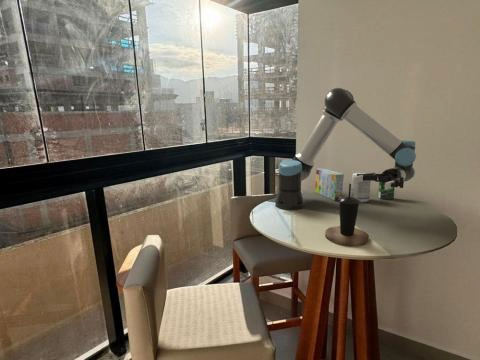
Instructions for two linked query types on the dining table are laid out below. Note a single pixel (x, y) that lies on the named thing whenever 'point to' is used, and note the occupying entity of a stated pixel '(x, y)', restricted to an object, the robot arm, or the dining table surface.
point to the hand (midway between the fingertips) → (369, 183)
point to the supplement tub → (360, 189)
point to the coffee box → (385, 192)
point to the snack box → (329, 183)
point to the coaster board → (346, 237)
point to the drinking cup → (348, 214)
